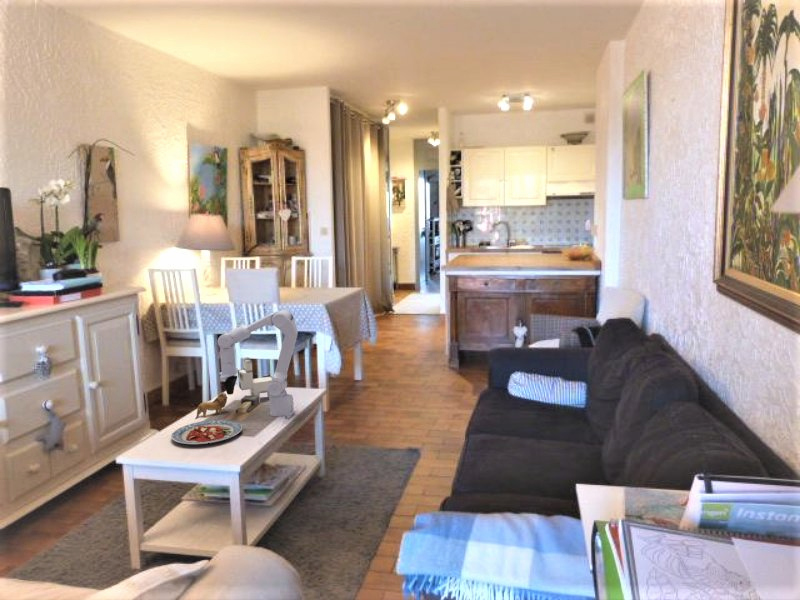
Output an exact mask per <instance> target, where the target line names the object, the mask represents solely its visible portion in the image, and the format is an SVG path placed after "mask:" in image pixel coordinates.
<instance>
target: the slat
mask: <svg viewBox="0 0 800 600" xmlns="http://www.w3.org/2000/svg"><path fill="white" fill-rule="evenodd" d="M252 406H253V401H245V402H244V403H243V404H242V405H239V406H238V407H237V408H238V414H245V413H246V412H247V411H248V409H250V408H251V407H252Z"/></svg>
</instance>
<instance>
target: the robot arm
mask: <svg viewBox="0 0 800 600" xmlns="http://www.w3.org/2000/svg"><path fill="white" fill-rule="evenodd" d="M296 324H297V323H296V321H295V316H294V315H293V313H292V311H290V310H289V309H285V308H284V309H280V310H278V311H274V312H272V313H269V314H267V315H265V316H263V317H261V318H259V319H257V320H256V321H254V322H252V323H250V324H244V323H243V324H238V325H237V326H236V327H235V328H233V329H229V330H227V331H226V332H225V333H223V334H221V335H220V336H219V337H218V339H217V341H216V342H217V345H218V347H219V355H220V367H221V371H220V372H218V374H219V375H220V376H219V382H222V384H223V385H224V388H225V391H226V395H229V396H230V395H234V393H235V391H234V390H235V384H236V381H238V370H239V369H238V368H237V367H236V356H235V355H236V354H235V353H236V352H235V344H238V343H240V342H242V341H244V340H245V339H248V338H250V336H251V334H252V332H254V331H257V330H260V329H261V328H263V327H265V326H270V327H273V326H274V327H275V328H277V329H278V330H280V331H281V333H282V335H283V336H284V337H283V340H282V341H283V342H282V345H281V349H280V352H279V356H278V359H277V362H276V367H275V370H274V373H273V376H272V381H271V382H270V383H269V385H268V387H267V391H268V393H269V398H268V400H269V414H270V416H271V417H284V418H285V419H290V418H291V417H292V416H293V414H294V413H295V409H294V408H295V407H294V406H295V405H294V397H293V394H291V393H287V390H286V389H287V386H288V380H287V378H288V371H289V367H290V363H291V360H292V356H293V352H294V349H295V346H296V342H297V338H298V333H299V331H298V328H297V325H296Z"/></svg>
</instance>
